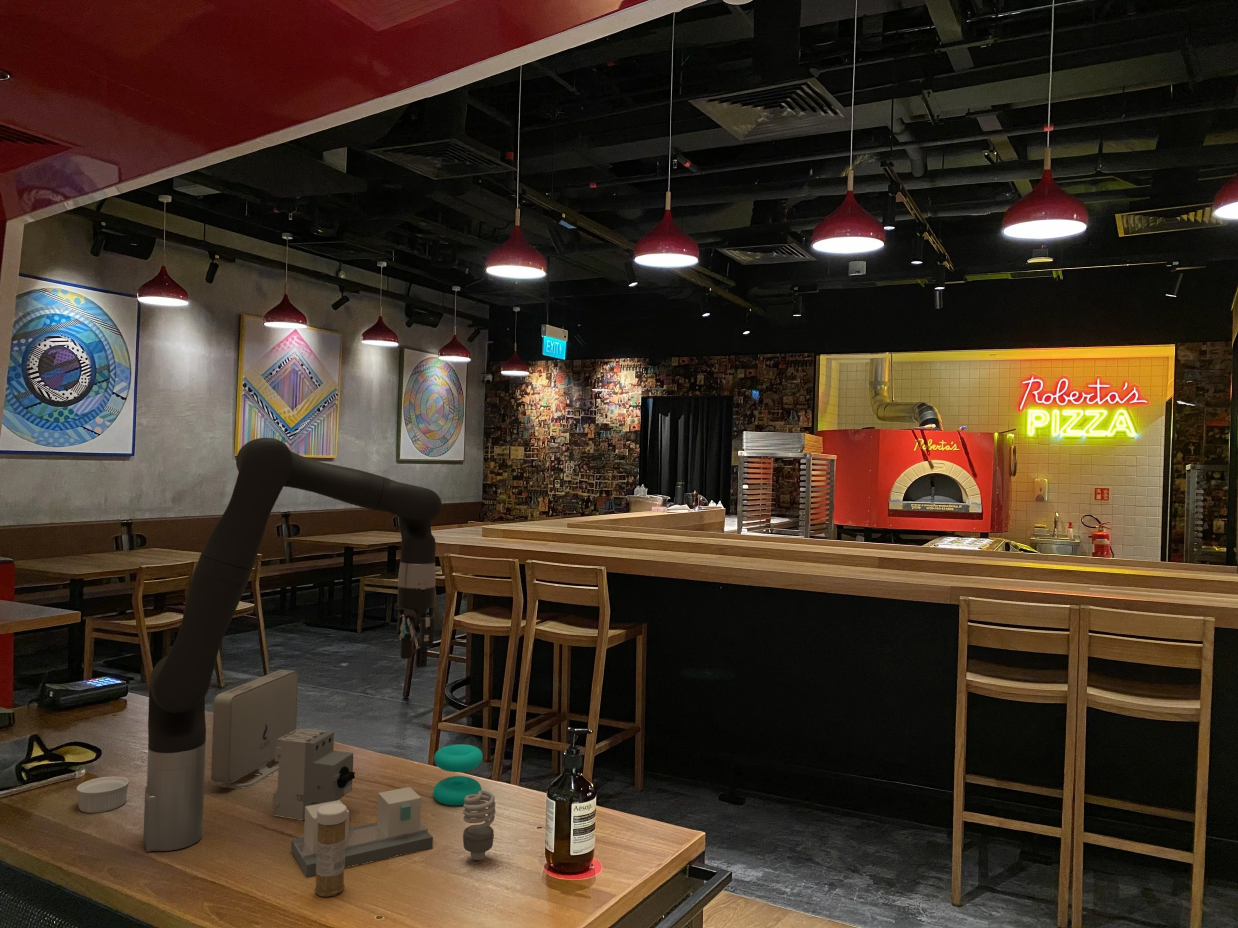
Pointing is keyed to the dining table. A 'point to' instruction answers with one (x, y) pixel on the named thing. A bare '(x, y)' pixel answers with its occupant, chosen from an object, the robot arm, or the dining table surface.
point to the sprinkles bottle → (330, 849)
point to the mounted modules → (393, 817)
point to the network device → (252, 726)
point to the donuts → (457, 761)
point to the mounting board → (369, 850)
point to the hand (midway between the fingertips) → (413, 662)
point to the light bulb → (479, 835)
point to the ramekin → (102, 794)
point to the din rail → (359, 839)
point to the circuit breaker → (310, 772)
